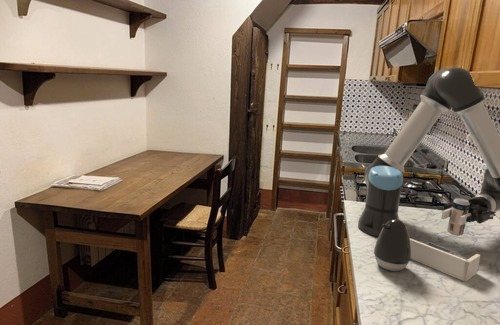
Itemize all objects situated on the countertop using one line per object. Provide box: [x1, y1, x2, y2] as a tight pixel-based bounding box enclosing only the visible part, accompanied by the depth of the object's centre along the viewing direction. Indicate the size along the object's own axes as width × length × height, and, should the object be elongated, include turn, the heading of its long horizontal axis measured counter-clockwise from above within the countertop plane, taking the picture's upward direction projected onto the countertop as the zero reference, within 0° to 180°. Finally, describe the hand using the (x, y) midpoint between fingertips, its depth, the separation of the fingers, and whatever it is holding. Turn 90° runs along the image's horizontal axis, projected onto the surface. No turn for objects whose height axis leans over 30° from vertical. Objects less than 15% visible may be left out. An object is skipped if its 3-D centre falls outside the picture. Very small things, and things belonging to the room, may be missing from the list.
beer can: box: [446, 197, 470, 237], centre depth 119 cm, size 5×5×12 cm
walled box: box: [409, 237, 481, 282], centre depth 113 cm, size 11×24×6 cm, turn 38°
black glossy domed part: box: [373, 218, 411, 272], centre depth 106 cm, size 10×10×15 cm
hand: (451, 217), depth 116 cm, fingers closed on beer can, 5 cm apart
